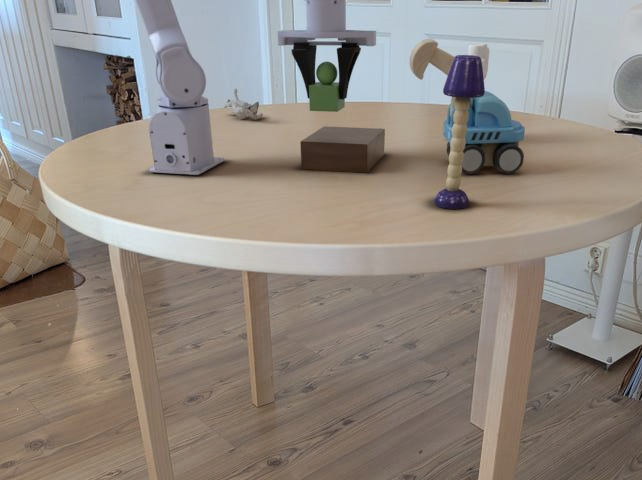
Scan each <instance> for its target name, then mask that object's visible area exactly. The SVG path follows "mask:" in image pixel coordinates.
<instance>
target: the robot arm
mask: <svg viewBox="0 0 642 480" xmlns="http://www.w3.org/2000/svg"><path fill="white" fill-rule="evenodd" d="M346 1H347V0H305V14H306V15H305V16H306V17H305V19H306V29H298V30H297V29H296V30H295V29H293V30H277V46H282V47H283V46H284V47H285V46H293V48H292V49H291V55H292V57H293V59H294V60H295V63H296V65H297V67H298V69H299V71H300V74H301V77H302V80H303V84H304V87H305V91H306V96H307V99H309V85H312V84H314V83H316V82H317V81H316V58H317V48H318V47H317V46H340V47H337V48H336V55H337V65H338V82H339V99H345V100H346V99H347V98H348V90H349V86H350V85H349V84H350V81H351V77H352V74H353V70H354V68H355V65H356V62H357V60H358V58H359V56H360V54H361V50H362V48H361V47H365V46H366V47H376V46H377V30H361V29H359V30H358V29H356V30H355V29H347V8H346V7H347V5H346V4H347V2H346ZM135 3H136V5H137V8H138V11H139V14H140V17H141V19H142V22H143V25H144V27H145V30H146V33H147V35H148V39H149V42H150V45H151V47H152V51H153V54H154V56H155V61H156V62H155V63H156V64H155V77H156V80H157V83H158V84H159V87H160V89H161V91H162V93H161V95H160V96H159V98H157V100H156V103H157V112H156V113H155V114H153V116H152V117H151V120H150V122H149V127H148V132H149V140H150V146H151V153H152V159H153V166H152V167H150V168H149V170H148V171H149V173H157V174H173V175H189V176H200V175H201V174H203V173H205V172H206V171H208V170H210V169H212V168H214V167H216V166H218V165H220V164H221V163H223V162H224V161H225V158H224V157H222V156H221V157H219V156H218V157H217V156H215V155H214V154H215V153H214V147H213V136H212V125H211V124H212V123H211V115H210V105H209V104H210V103H209V99H208V98H207V97H205V96H203V95H204V93H205V90H206V86H207V78H206V73H205V70H204V68H203V67H202V66H201V65H200V63H199V62H198V61H197V60H196V58H194V56H193V55H192V53H191V50H190V48H189V45H188V43H187V40H186V38H185V35H184V33H183V30H182V28H181V25H180V22H179V19H178V17H177V14H176V11H175V7H174V4H173V2H172V0H135ZM316 39H337V41H336V40H335V41H328V40H327V41H326V40H324V41H323V40H321V41H320V40H318V41H316ZM360 46H361V47H360Z"/></svg>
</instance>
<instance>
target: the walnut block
mask: <svg viewBox="0 0 642 480" xmlns="http://www.w3.org/2000/svg"><path fill="white" fill-rule="evenodd" d="M385 136H386V129H385V128H375V127H373V128H371V127H346V126H328V125H327V126H326V125H325V126H322V127H321V128H319V129H317V130H316V131H314V132H312V133H311V134H310V135H308V136H307V137H305V138H303V139H302V140H301V141H300V167H301V170H307V171H309V170H311V171H325V172H326V171H327V172H328V171H329V172H344V173H360V174H364V173H365V174H367V173H368V172H370V170H371V169H372V168H373V167H374V166H375V165H376V164H377V163H378V162H379V161H380V160H381V159H382V158H383V157H384V156H385V144H386V143H385V142H386V140H385V139H386V137H385Z"/></svg>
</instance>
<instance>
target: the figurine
mask: <svg viewBox="0 0 642 480" xmlns="http://www.w3.org/2000/svg"><path fill="white" fill-rule="evenodd" d="M467 48H468V50H467V51H468V52H467V53H468V54H467V55H473V56H479V57H480V58H481V61H482V69H483V78H484V80H486V78H487V75H488V70H489V59H490V48H489V47H488V43H483V44H482V43H479V44H476V43H475V44H470V45H468V47H467Z"/></svg>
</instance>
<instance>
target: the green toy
mask: <svg viewBox="0 0 642 480" xmlns="http://www.w3.org/2000/svg"><path fill="white" fill-rule="evenodd" d="M315 77H316V79H317V80H318V81H316V83H314V84H312V85H309V98H308V100H309V112H330V113H331V112H332V113H333V112H334V113H336V112H337V113H338V112H339V111H341V110H342V109H344V108H346V107H345V106H346V103H345V101H346V98H345V99H339V81H336V80H337V78H338V69H337V66H336V65H335V64H334V63H333V62H331V61H323V62H321V63H320V64H318V66H317V68H316V69H315Z"/></svg>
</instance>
